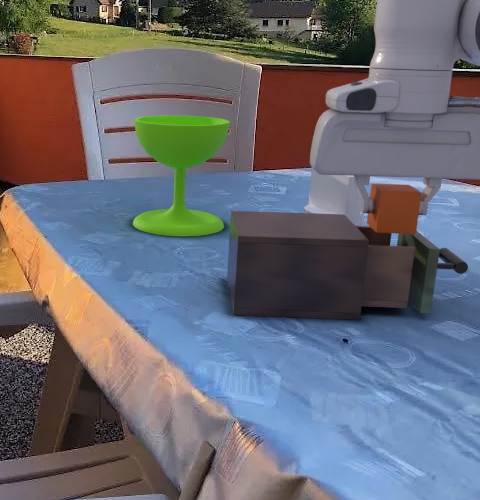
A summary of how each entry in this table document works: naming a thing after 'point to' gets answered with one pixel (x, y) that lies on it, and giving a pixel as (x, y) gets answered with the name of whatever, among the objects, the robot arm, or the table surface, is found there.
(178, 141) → the wineglass
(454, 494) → the table surface
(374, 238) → the drawer
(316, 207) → the base with upright slab
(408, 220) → the burnt orange cube
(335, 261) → the cabinet
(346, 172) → the robot arm
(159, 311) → the table surface
